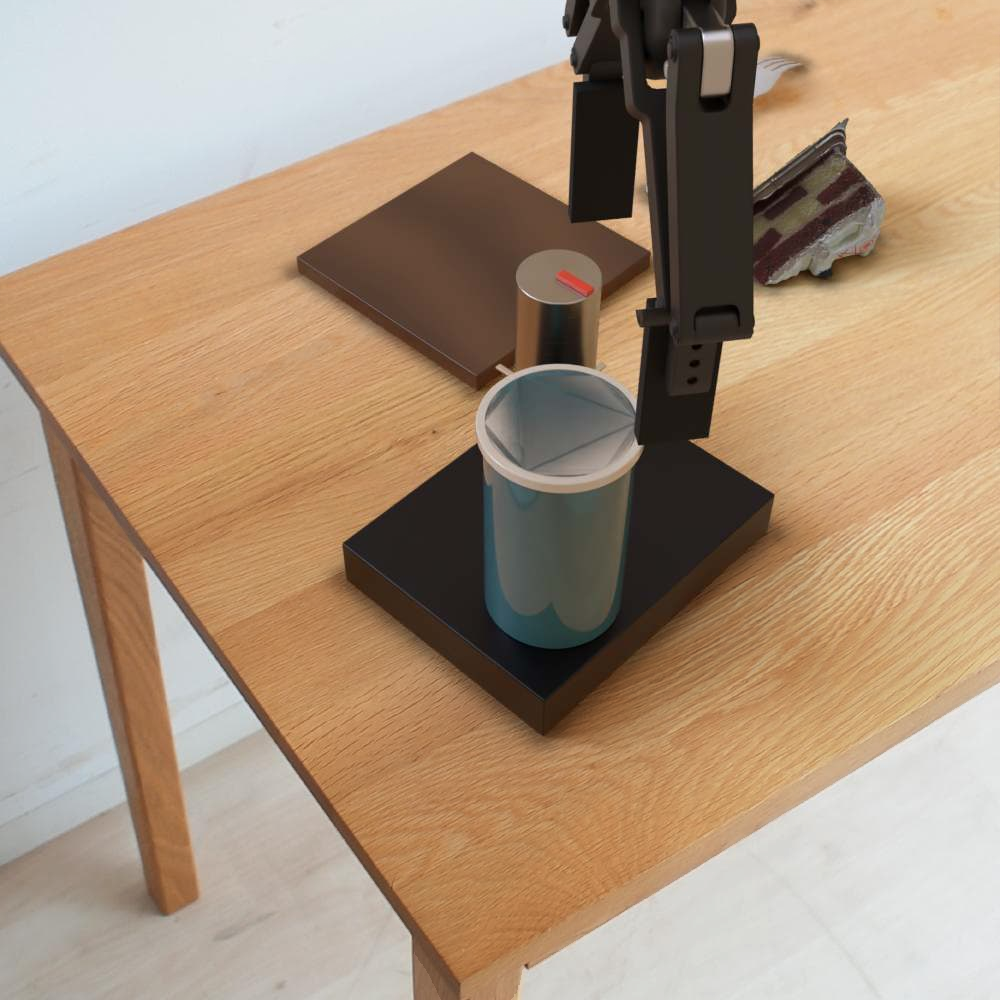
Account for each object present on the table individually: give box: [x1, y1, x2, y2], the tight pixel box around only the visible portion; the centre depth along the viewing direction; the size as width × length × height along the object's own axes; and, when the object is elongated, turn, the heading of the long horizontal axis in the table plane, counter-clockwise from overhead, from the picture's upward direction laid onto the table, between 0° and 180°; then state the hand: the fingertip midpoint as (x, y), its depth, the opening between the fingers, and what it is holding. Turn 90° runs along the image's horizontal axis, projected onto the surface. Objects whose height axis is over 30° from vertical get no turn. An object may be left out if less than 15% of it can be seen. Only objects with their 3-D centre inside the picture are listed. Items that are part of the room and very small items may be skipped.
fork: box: [645, 56, 803, 194], centre depth 103 cm, size 3×21×3 cm, turn 147°
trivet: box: [296, 151, 652, 391], centre depth 92 cm, size 16×16×1 cm
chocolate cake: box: [753, 117, 887, 286], centre depth 93 cm, size 10×7×12 cm
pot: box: [474, 364, 644, 649], centre depth 67 cm, size 7×7×12 cm
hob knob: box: [514, 249, 602, 373], centre depth 77 cm, size 4×4×9 cm
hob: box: [341, 361, 776, 737], centre depth 77 cm, size 19×17×3 cm
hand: (632, 317), depth 59 cm, fingers open, 13 cm apart
